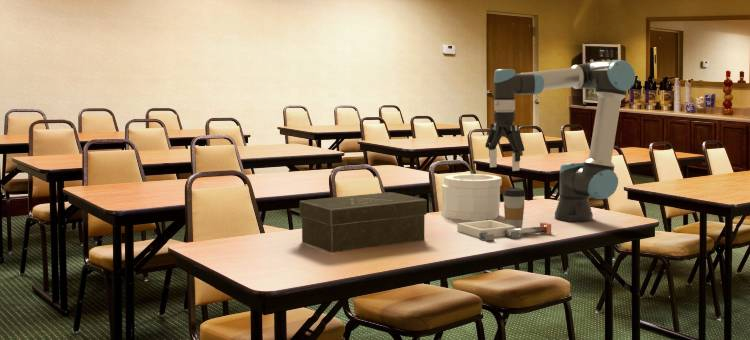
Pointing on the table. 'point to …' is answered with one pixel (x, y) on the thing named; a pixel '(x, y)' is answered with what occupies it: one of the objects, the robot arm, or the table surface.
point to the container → (471, 196)
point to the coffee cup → (514, 206)
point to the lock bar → (532, 230)
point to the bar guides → (490, 237)
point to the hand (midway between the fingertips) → (504, 168)
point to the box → (362, 221)
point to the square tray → (484, 228)
